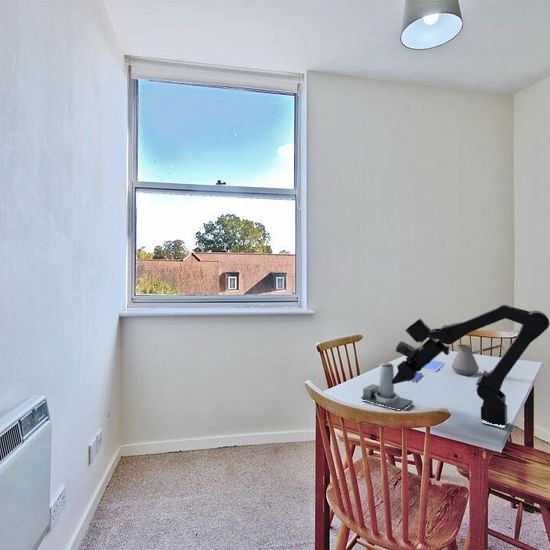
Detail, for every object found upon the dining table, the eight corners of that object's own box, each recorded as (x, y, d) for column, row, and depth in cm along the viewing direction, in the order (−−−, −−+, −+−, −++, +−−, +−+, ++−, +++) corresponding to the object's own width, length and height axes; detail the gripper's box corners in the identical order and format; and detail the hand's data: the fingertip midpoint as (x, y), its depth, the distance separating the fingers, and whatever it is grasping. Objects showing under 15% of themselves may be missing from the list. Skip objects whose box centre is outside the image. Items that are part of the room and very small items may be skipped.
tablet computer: (419, 361, 196) (419, 358, 196) (444, 364, 188) (444, 361, 188) (409, 369, 180) (409, 366, 180) (436, 373, 173) (436, 370, 173)
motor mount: (412, 404, 132) (412, 392, 132) (402, 411, 126) (402, 399, 126) (372, 394, 143) (372, 383, 143) (361, 400, 137) (361, 389, 137)
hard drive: (404, 370, 173) (397, 377, 163) (422, 373, 168) (416, 380, 158) (404, 373, 173) (397, 380, 163) (422, 376, 168) (416, 383, 158)
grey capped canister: (394, 397, 136) (394, 363, 136) (392, 402, 131) (392, 366, 131) (380, 395, 138) (380, 361, 138) (378, 400, 133) (378, 365, 133)
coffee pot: (449, 373, 170) (448, 342, 169) (454, 368, 179) (453, 338, 179) (502, 381, 157) (502, 347, 157) (505, 375, 166) (504, 342, 166)
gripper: (415, 331, 137) (387, 357, 144) (403, 339, 122) (371, 368, 128) (438, 354, 133) (408, 379, 139) (428, 365, 118) (394, 394, 124)
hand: (395, 379), depth 133 cm, fingers open, 9 cm apart
